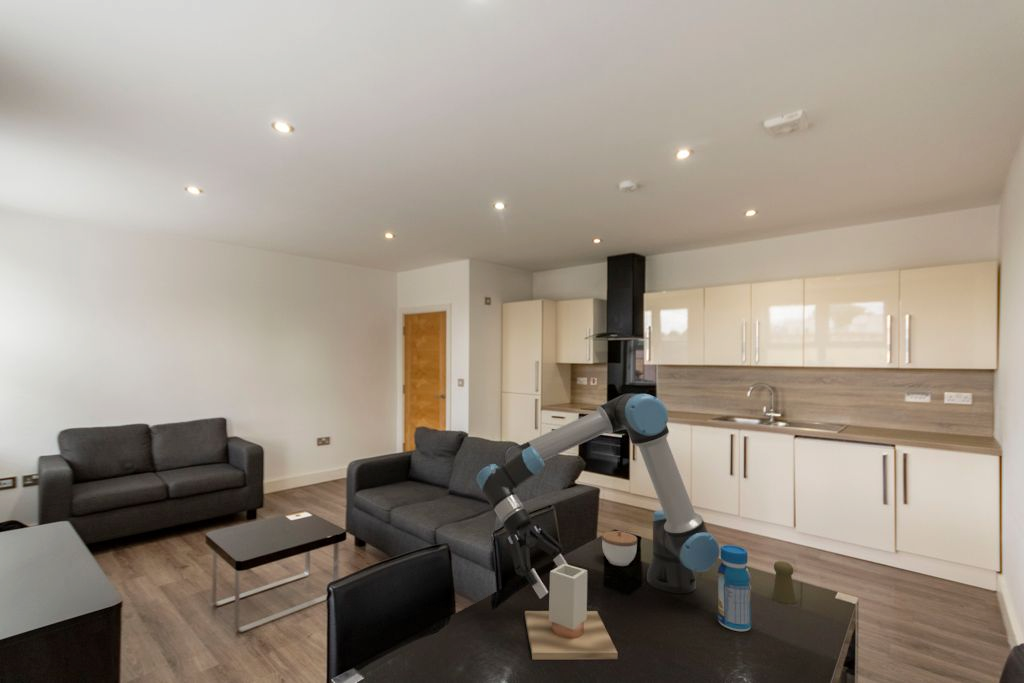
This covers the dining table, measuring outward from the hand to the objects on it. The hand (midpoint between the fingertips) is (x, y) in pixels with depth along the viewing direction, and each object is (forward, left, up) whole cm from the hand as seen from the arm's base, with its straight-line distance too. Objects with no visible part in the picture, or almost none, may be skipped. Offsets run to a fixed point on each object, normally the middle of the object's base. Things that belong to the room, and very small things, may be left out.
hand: (558, 586), depth 122 cm
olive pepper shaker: (-19, +73, -12) cm, 77 cm away
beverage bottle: (-4, +49, -12) cm, 51 cm away
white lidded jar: (-48, +30, -12) cm, 58 cm away
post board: (+2, +2, -11) cm, 12 cm away
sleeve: (+2, +2, -7) cm, 8 cm away
